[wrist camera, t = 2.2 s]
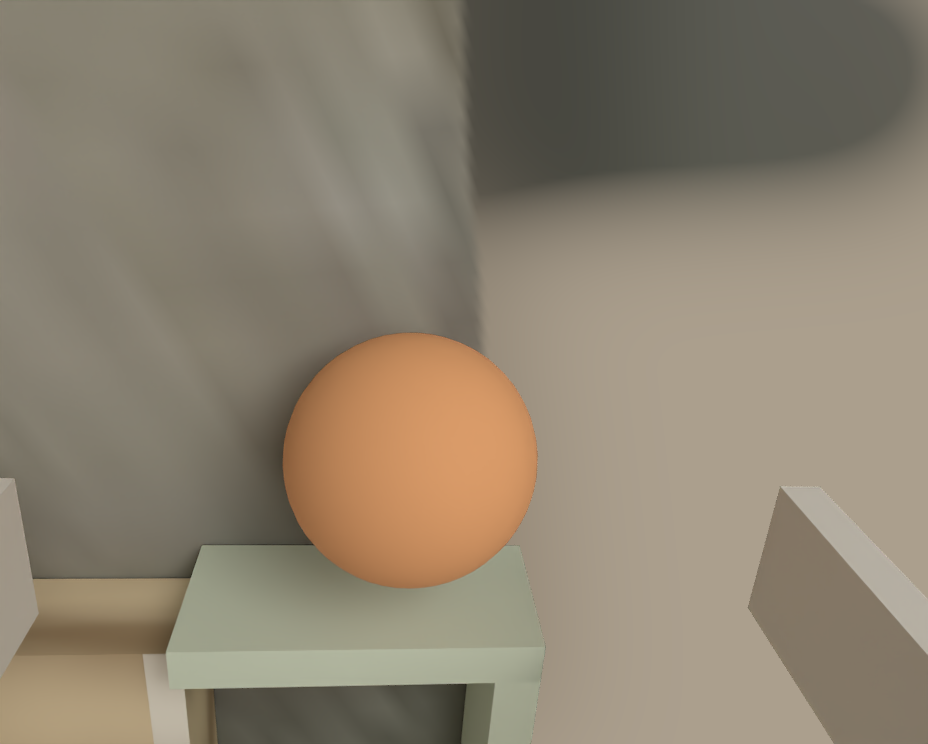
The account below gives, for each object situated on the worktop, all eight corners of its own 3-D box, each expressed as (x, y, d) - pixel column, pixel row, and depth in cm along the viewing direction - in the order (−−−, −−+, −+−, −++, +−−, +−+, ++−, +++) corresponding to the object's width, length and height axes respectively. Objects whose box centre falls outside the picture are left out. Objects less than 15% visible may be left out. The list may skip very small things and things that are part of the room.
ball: (294, 292, 16) (261, 399, 12) (527, 301, 17) (579, 406, 13) (297, 493, 19) (270, 648, 14) (505, 494, 19) (543, 644, 15)
